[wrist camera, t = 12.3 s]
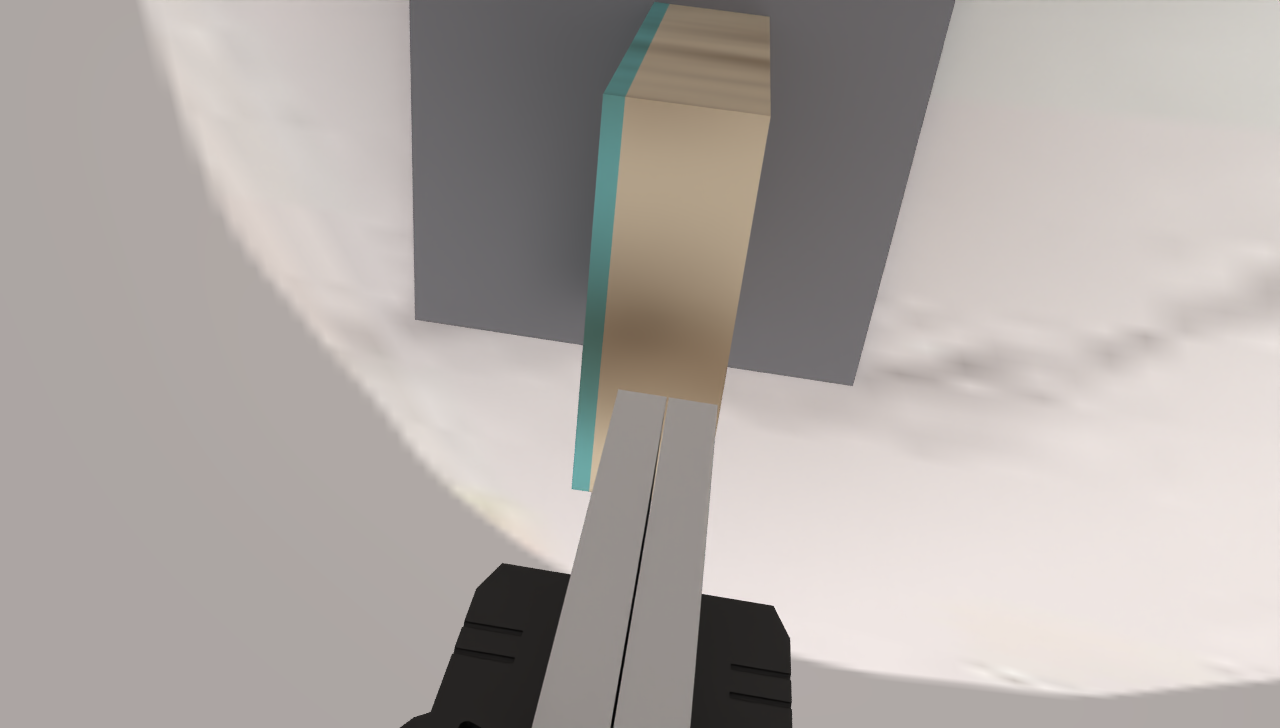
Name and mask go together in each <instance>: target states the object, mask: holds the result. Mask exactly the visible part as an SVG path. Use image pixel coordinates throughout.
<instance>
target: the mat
mask: <svg viewBox="0 0 1280 728" xmlns="http://www.w3.org/2000/svg"><path fill="white" fill-rule="evenodd" d="M654 2H659V3H667V4H674V5H682V6H690V7H698V8H706V9H714V10H722V11H729V12H737V13H745V14H753V15H761V16H769V17H770V99H771V117H770V123H769V129H768V135H767V140H766V146H765V152H764V158H763V163H762V169H761V175H760V181H759V187H758V192H757V198H756V204H755V210H754V215H753V221H752V227H751V233H750V239H749V244H748V250H747V256H746V262H745V267H744V273H743V279H742V285H741V291H740V296H739V302H738V308H737V314H736V319H735V325H734V331H733V337H732V343H731V348H730V354H729V360H728V366H727V367H731V368H738V369H744V370H751V371H757V372H764V373H771V374H777V375H784V376H790V377H797V378H803V379H810V380H817V381H823V382H830V383H836V384H843V385H850V386H853V383H854V380H855V376H856V372H857V368H858V365H859V361H860V357H861V353H862V350H863V346H864V342H865V338H866V334H867V331H868V327H869V323H870V319H871V316H872V312H873V308H874V304H875V301H876V297H877V293H878V289H879V286H880V282H881V278H882V274H883V270H884V267H885V263H886V259H887V255H888V252H889V248H890V244H891V240H892V237H893V233H894V229H895V225H896V222H897V218H898V214H899V210H900V207H901V203H902V199H903V195H904V191H905V188H906V184H907V180H908V176H909V173H910V169H911V165H912V161H913V158H914V154H915V150H916V146H917V143H918V139H919V135H920V131H921V127H922V124H923V120H924V116H925V112H926V109H927V105H928V101H929V97H930V94H931V90H932V86H933V82H934V79H935V75H936V71H937V67H938V63H939V60H940V56H941V52H942V48H943V45H944V41H945V37H946V33H947V30H948V26H949V22H950V18H951V15H952V11H953V7H954V3H955V0H410V56H411V111H412V167H413V223H414V278H415V320H421V321H428V322H434V323H441V324H447V325H454V326H461V327H467V328H474V329H480V330H487V331H494V332H500V333H507V334H513V335H520V336H527V337H533V338H540V339H546V340H553V341H560V342H566V343H573V344H579V345H583V341H584V328H585V316H586V303H587V291H588V278H589V265H590V253H591V240H592V228H593V215H594V203H595V190H596V177H597V165H598V152H599V140H600V127H601V115H602V102H603V93H604V91H605V90H606V88H607V86H608V84H609V83H610V81H611V79H612V77H613V75H614V74H615V72H616V70H617V68H618V66H619V65H620V63H621V61H622V59H623V57H624V56H625V54H626V52H627V50H628V48H629V47H630V45H631V43H632V41H633V39H634V38H635V36H636V34H637V32H638V30H639V29H640V27H641V25H642V23H643V21H644V20H645V18H646V16H647V14H648V12H649V11H650V9H651V7H652V5H653V4H654Z"/></svg>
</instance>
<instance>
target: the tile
mask: <svg viewBox="0 0 1280 728" xmlns="http://www.w3.org/2000/svg"><path fill="white" fill-rule="evenodd" d="M770 117H771V99H770V17H769V16H761V15H753V14H745V13H737V12H729V11H722V10H714V9H706V8H698V7H690V6H682V5H674V4H667V3H659V2H654V4H653V5H652V7H651V9H650V11H649V12H648V14H647V16H646V18H645V20H644V21H643V23H642V25H641V27H640V29H639V30H638V32H637V34H636V36H635V38H634V39H633V41H632V43H631V45H630V47H629V48H628V50H627V52H626V54H625V56H624V57H623V59H622V61H621V63H620V65H619V66H618V68H617V70H616V72H615V74H614V75H613V77H612V79H611V81H610V83H609V84H608V86H607V88H606V90H605V91H604V93H603V102H602V115H601V127H600V140H599V152H598V165H597V177H596V190H595V203H594V215H593V228H592V240H591V253H590V265H589V278H588V291H587V303H586V316H585V328H584V341H583V353H582V366H581V379H580V391H579V404H578V416H577V429H576V441H575V454H574V467H573V479H572V489H575V490H582V491H588V492H592V490H593V486H594V482H595V479H596V475H597V471H598V467H599V463H600V459H601V455H602V451H603V447H604V443H605V439H606V436H607V432H608V428H609V424H610V420H611V416H612V412H613V408H614V404H615V400H616V396H617V393H618V389H619V390H626V391H632V392H638V393H645V394H651V395H657V396H664V397H667V399H666V406H665V413H664V419H663V426H662V433H661V439H660V446H659V453H658V459H657V466H658V460H659V454H660V448H661V442H662V436H663V430H664V424H665V418H666V412H667V406H668V400H669V397H670V398H676V399H683V400H689V401H695V402H702V403H708V404H714V405H718V408H717V420H716V429H717V424H718V418H719V412H720V406H721V400H722V395H723V389H724V383H725V377H726V372H727V366H728V360H729V354H730V348H731V343H732V337H733V331H734V325H735V319H736V314H737V308H738V302H739V296H740V291H741V285H742V279H743V273H744V267H745V262H746V256H747V250H748V244H749V239H750V233H751V227H752V221H753V215H754V210H755V204H756V198H757V192H758V187H759V181H760V175H761V169H762V163H763V158H764V152H765V146H766V140H767V135H768V129H769V123H770ZM715 435H716V431H715ZM657 466H656V472H657ZM655 477H656V473H655ZM654 483H655V479H654ZM653 489H654V486H653ZM652 495H653V492H652ZM651 501H652V499H651Z"/></svg>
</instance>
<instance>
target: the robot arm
mask: <svg viewBox="0 0 1280 728" xmlns="http://www.w3.org/2000/svg"><path fill="white" fill-rule="evenodd" d="M666 399H667V397H664V396H657V395H651V394H645V393H638V392H632V391H626V390H619V389H618V393H617V396H616V400H615V404H614V408H613V412H612V416H611V420H610V424H609V428H608V432H607V436H606V439H605V443H604V447H603V451H602V455H601V459H600V463H599V467H598V471H597V475H596V479H595V482H594V486H593V490H592V494H591V498H590V502H589V506H588V510H587V514H586V518H585V522H584V525H583V529H582V533H581V537H580V541H579V545H578V549H577V553H576V557H575V561H574V565H573V568H572V572H571V575H570V574H564V573H558V572H552V571H546V570H540V569H534V568H528V567H522V566H516V565H510V564H504V563H502V564H501V565H500V566H499V567H498V568H497V569H496V570H495V571H494V572H493V573H492V574H491V575H490V576H489V577H488V578H487V579H486V580H485V581H484V582H483V583H482V584H481V585H480V586H479V587H478V588H477V589H476V591H475V594H474V597H473V599H472V602H471V605H470V607H469V610H468V613H467V615H466V618H465V622H464V626H463V627H462V629H461V632H460V635H459V637H458V640H457V642H456V645H455V649H454V654H452V656H451V659H450V661H449V664H448V667H447V669H446V672H445V675H444V677H443V680H442V683H441V686H440V688H439V691H438V694H437V697H436V699H435V702H434V705H433V707H432V710H431V712H429V713H426V714H423V715H420V716H417V717H414V718H413V719H411V720H410V721H408V722H407V723H406V724H404V725H403V726H402V727H400V728H792V709H791V703H792V701H791V700H792V699H791V698H792V697H791V680H790V676H791V656H790V638H789V636H788V634H787V632H786V630H785V628H784V626H783V624H782V622H781V620H780V618H779V616H778V614H777V612H776V610H775V608H774V606H771V605H765V604H759V603H753V602H747V601H741V600H735V599H729V598H723V597H717V596H711V595H705V594H702V583H703V571H704V560H705V548H706V536H707V525H708V513H709V501H710V490H711V478H712V466H713V455H714V443H715V431H716V420H717V408H718V405H714V404H708V403H702V402H695V401H689V400H683V399H676V398H670V397H669V400H668V406H667V412H666V418H665V424H664V430H663V436H662V442H661V448H660V454H659V460H658V466H657V459H658V453H659V446H660V439H661V433H662V426H663V419H664V413H665V406H666ZM656 466H657V472H656ZM655 473H656V477H655ZM654 479H655V483H654ZM653 486H654V489H653ZM652 492H653V495H652ZM651 499H652V501H651ZM650 506H651V507H650ZM649 512H650V513H649Z"/></svg>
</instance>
